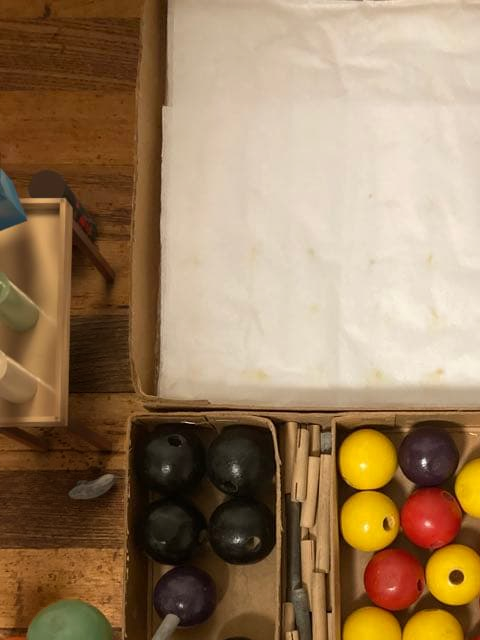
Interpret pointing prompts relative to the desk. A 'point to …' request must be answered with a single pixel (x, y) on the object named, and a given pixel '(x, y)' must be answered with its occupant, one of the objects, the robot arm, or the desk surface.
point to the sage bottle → (16, 306)
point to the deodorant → (56, 187)
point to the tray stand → (45, 316)
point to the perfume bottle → (9, 204)
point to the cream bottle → (15, 381)
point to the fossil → (92, 487)
